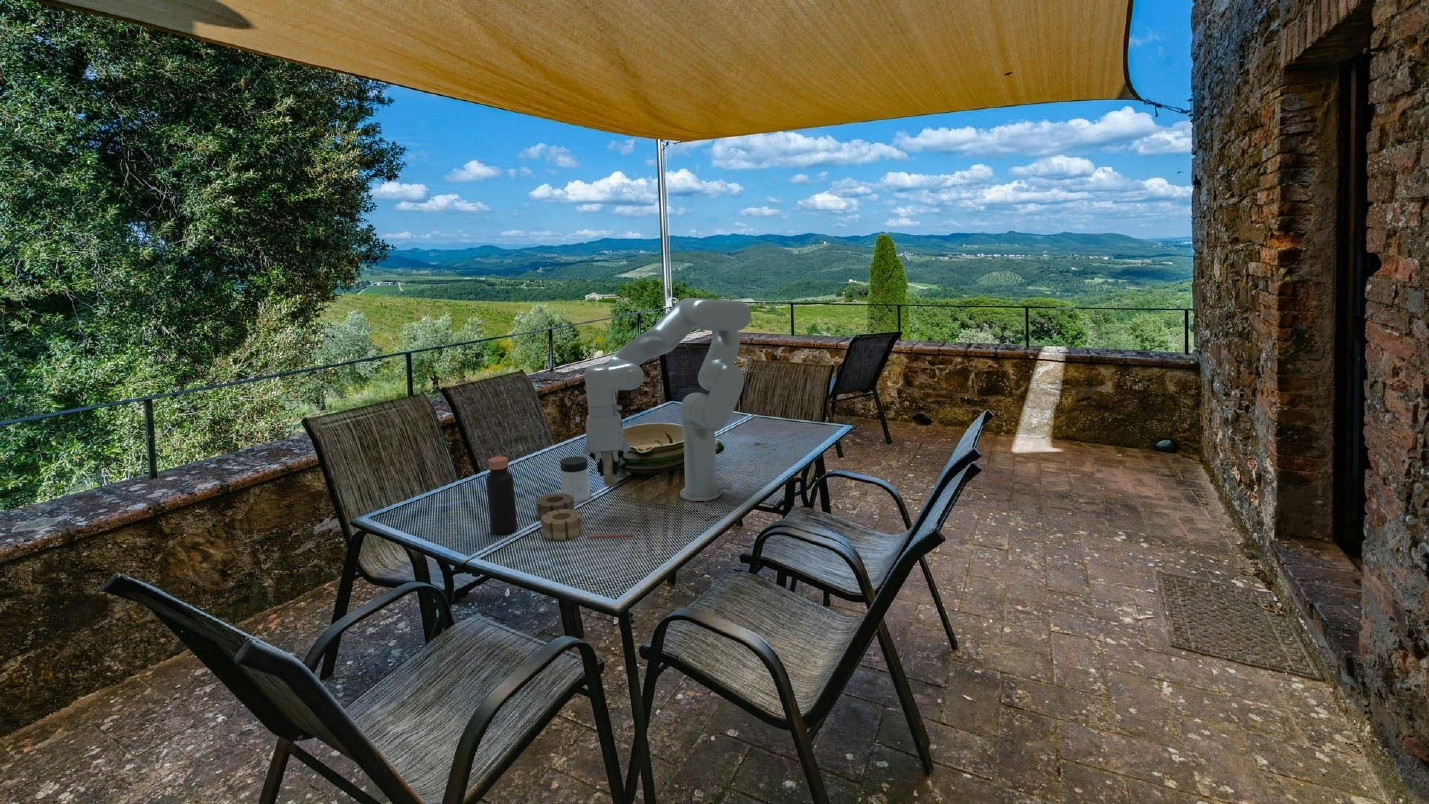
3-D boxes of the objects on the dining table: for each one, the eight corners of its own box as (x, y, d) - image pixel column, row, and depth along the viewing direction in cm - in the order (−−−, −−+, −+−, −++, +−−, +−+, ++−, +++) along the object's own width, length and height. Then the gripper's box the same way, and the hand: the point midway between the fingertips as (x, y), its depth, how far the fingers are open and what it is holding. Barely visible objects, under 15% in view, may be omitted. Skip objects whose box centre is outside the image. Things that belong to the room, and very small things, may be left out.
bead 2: (584, 523, 179) (583, 508, 178) (579, 539, 169) (578, 522, 168) (547, 525, 178) (545, 510, 177) (540, 540, 168) (538, 524, 167)
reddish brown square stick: (633, 535, 171) (633, 533, 171) (633, 536, 170) (633, 534, 170) (587, 537, 170) (587, 535, 170) (587, 538, 169) (586, 536, 169)
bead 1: (568, 505, 193) (567, 491, 192) (577, 517, 184) (576, 501, 183) (534, 511, 188) (533, 497, 187) (541, 523, 179) (540, 508, 178)
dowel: (616, 482, 184) (612, 441, 182) (615, 486, 181) (611, 445, 178) (604, 483, 184) (600, 442, 181) (603, 487, 181) (599, 445, 178)
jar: (567, 505, 193) (564, 466, 191) (557, 497, 200) (554, 459, 197) (595, 498, 198) (593, 460, 195) (584, 491, 205) (582, 454, 202)
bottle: (492, 537, 171) (485, 464, 167) (489, 528, 177) (483, 457, 173) (519, 532, 174) (512, 460, 170) (515, 523, 180) (509, 454, 176)
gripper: (633, 405, 182) (639, 467, 186) (574, 409, 181) (581, 472, 185) (632, 411, 174) (637, 476, 179) (570, 416, 174) (577, 481, 178)
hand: (608, 473), depth 182 cm, fingers closed on dowel, 3 cm apart
